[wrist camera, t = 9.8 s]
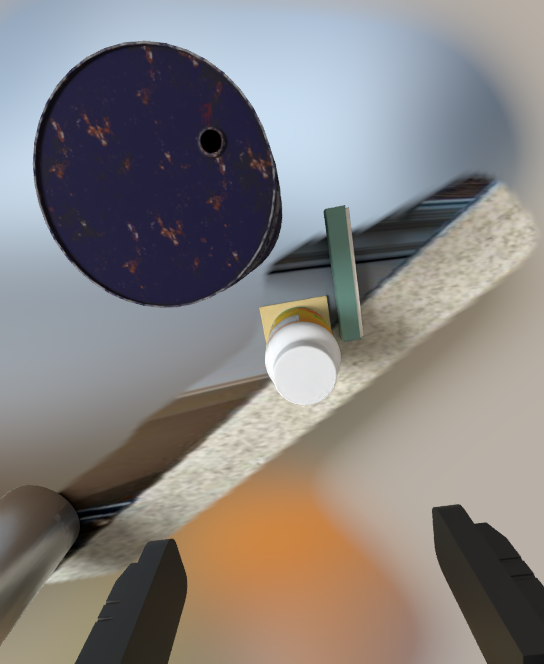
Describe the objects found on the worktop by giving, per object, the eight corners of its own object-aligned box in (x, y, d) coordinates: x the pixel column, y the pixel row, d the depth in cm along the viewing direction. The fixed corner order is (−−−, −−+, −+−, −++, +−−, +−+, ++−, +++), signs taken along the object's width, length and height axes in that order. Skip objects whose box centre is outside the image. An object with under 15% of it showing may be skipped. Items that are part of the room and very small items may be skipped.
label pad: (271, 368, 30) (271, 369, 30) (259, 307, 29) (259, 307, 29) (335, 358, 30) (335, 359, 30) (326, 295, 28) (326, 295, 28)
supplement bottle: (340, 343, 29) (365, 390, 20) (289, 372, 30) (290, 429, 21) (310, 293, 28) (321, 318, 19) (258, 324, 29) (245, 362, 20)
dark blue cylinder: (211, 298, 29) (138, 352, 15) (142, 201, 27) (-22, 153, 13) (305, 233, 27) (327, 221, 13) (238, 125, 25) (174, -34, 11)
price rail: (340, 337, 29) (343, 341, 28) (323, 211, 27) (325, 209, 25) (360, 333, 29) (364, 338, 28) (345, 206, 26) (348, 204, 25)
